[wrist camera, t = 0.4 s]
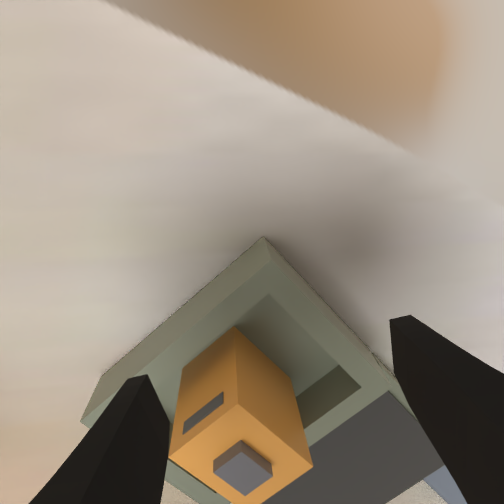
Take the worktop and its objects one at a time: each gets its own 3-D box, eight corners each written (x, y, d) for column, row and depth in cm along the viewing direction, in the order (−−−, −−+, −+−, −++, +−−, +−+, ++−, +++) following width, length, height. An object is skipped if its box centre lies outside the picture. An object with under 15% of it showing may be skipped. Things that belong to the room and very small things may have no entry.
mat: (470, 521, 30) (474, 528, 29) (416, 470, 27) (419, 476, 27) (548, 474, 28) (554, 480, 28) (499, 415, 26) (504, 420, 26)
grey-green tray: (309, 533, 29) (321, 587, 25) (100, 377, 23) (80, 421, 19) (452, 438, 26) (485, 484, 23) (263, 236, 20) (271, 259, 17)
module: (241, 416, 23) (248, 527, 17) (181, 367, 22) (165, 469, 15) (291, 378, 22) (317, 479, 16) (233, 325, 21) (237, 413, 15)
